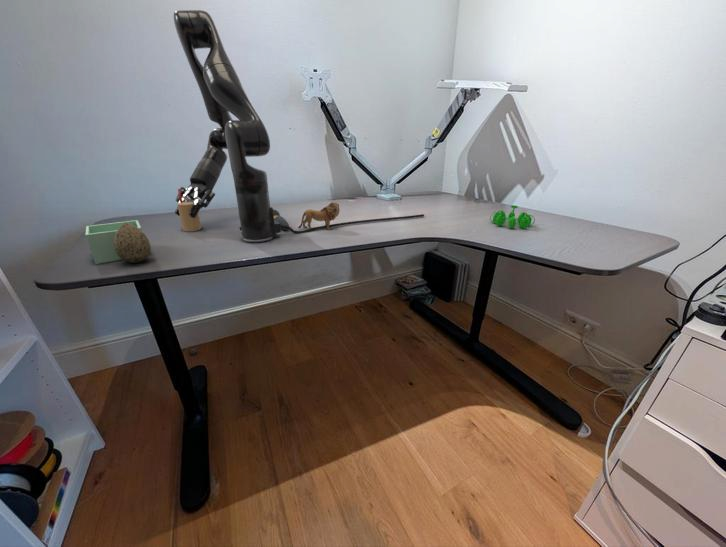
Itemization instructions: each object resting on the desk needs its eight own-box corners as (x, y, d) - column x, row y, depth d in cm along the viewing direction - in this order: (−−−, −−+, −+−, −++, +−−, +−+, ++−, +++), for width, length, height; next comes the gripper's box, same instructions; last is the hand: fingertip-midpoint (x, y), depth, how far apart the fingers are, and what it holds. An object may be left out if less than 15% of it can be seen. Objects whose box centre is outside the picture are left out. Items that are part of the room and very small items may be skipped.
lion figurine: (338, 225, 113) (338, 200, 110) (341, 229, 108) (340, 203, 105) (297, 227, 110) (295, 202, 107) (298, 231, 105) (296, 204, 102)
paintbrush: (298, 230, 107) (297, 215, 105) (284, 232, 104) (283, 217, 102) (274, 219, 121) (273, 206, 119) (262, 221, 118) (260, 208, 116)
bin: (144, 245, 91) (137, 220, 88) (148, 254, 83) (141, 227, 80) (95, 253, 84) (86, 226, 81) (95, 264, 77) (85, 234, 74)
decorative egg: (116, 269, 74) (103, 228, 70) (123, 259, 80) (111, 221, 76) (152, 264, 77) (141, 225, 73) (155, 255, 83) (145, 218, 79)
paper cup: (205, 228, 109) (196, 187, 103) (191, 232, 104) (182, 189, 98) (193, 226, 110) (184, 186, 105) (179, 230, 106) (169, 188, 100)
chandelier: (488, 227, 112) (491, 208, 109) (490, 218, 125) (493, 201, 122) (535, 232, 107) (539, 211, 104) (531, 222, 120) (535, 204, 117)
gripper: (183, 166, 108) (159, 207, 103) (214, 168, 103) (192, 210, 98) (198, 180, 115) (177, 219, 109) (229, 182, 110) (208, 223, 104)
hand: (184, 215), depth 104 cm, fingers closed on paper cup, 5 cm apart
